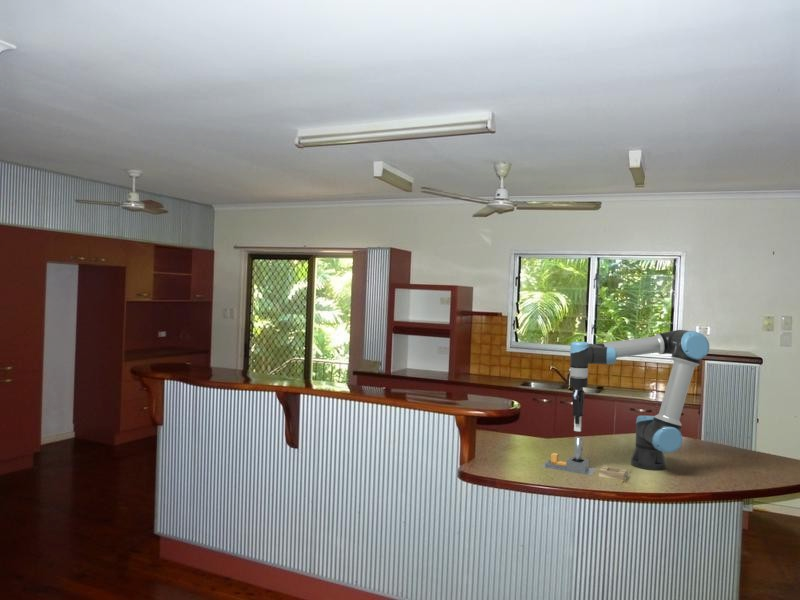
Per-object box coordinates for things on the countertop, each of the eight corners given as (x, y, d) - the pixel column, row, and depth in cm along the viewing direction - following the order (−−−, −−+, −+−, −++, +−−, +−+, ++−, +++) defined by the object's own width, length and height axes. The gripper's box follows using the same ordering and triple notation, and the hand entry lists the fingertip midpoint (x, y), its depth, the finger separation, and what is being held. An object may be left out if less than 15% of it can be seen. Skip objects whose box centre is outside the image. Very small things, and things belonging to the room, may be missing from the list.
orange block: (552, 464, 276) (553, 453, 276) (571, 467, 272) (571, 455, 272) (550, 465, 274) (551, 454, 274) (569, 468, 270) (569, 457, 270)
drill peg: (574, 467, 272) (575, 436, 271) (582, 469, 270) (583, 437, 270) (573, 469, 269) (574, 437, 269) (580, 470, 267) (581, 438, 267)
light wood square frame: (603, 473, 269) (603, 465, 269) (627, 477, 264) (627, 469, 264) (598, 478, 260) (598, 470, 260) (623, 483, 255) (623, 474, 255)
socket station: (547, 463, 282) (547, 452, 282) (596, 471, 271) (597, 459, 271) (539, 469, 271) (540, 457, 271) (590, 478, 261) (591, 466, 261)
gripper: (573, 374, 277) (572, 427, 277) (566, 378, 266) (565, 432, 266) (590, 376, 273) (589, 429, 274) (584, 379, 262) (582, 434, 262)
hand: (577, 430), depth 270 cm, fingers closed
